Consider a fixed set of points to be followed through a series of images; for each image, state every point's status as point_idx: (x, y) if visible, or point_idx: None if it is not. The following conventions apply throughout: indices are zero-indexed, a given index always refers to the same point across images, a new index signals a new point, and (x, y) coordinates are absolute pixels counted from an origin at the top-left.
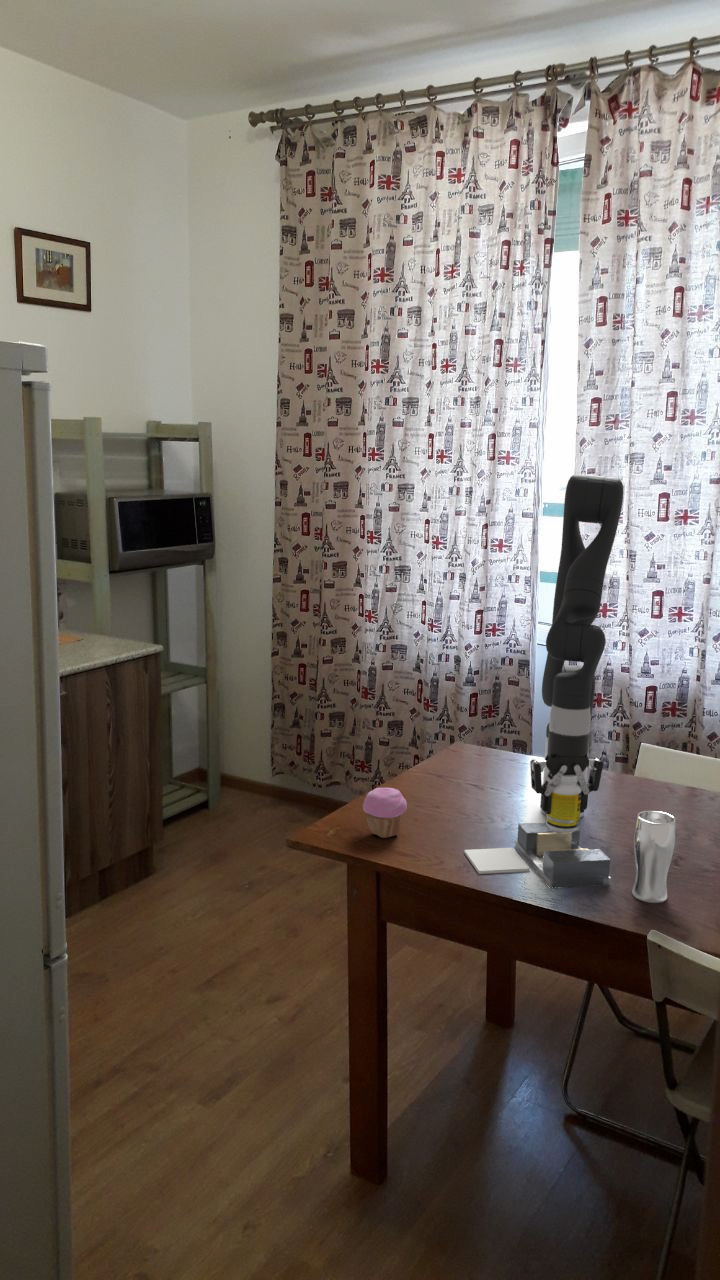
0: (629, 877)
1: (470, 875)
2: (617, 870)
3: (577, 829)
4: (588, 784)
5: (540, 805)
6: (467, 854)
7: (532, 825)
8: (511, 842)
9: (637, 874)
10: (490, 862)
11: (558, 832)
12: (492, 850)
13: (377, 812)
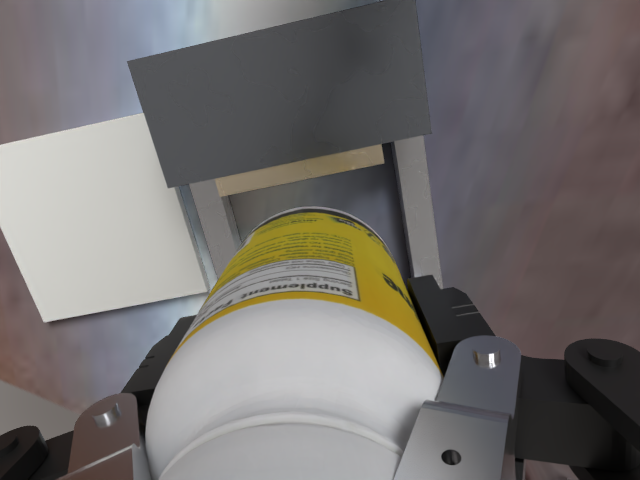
0: (529, 306)
1: (26, 327)
2: (510, 257)
3: (422, 119)
4: (559, 432)
5: (151, 353)
6: None
7: (198, 85)
8: (151, 19)
9: (526, 476)
10: (74, 255)
11: (319, 163)
12: (72, 148)
13: None
